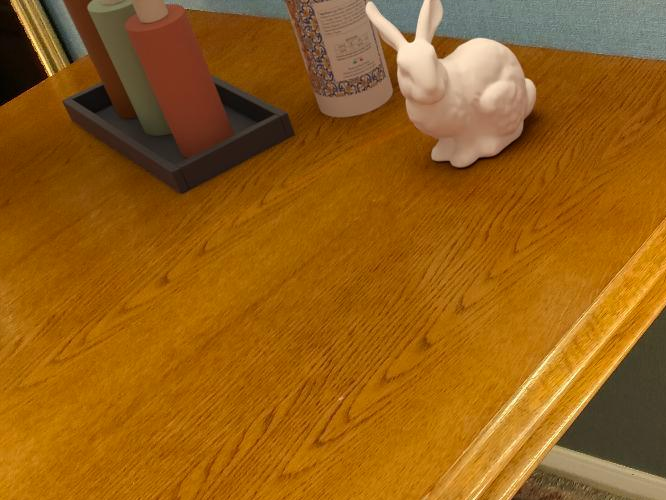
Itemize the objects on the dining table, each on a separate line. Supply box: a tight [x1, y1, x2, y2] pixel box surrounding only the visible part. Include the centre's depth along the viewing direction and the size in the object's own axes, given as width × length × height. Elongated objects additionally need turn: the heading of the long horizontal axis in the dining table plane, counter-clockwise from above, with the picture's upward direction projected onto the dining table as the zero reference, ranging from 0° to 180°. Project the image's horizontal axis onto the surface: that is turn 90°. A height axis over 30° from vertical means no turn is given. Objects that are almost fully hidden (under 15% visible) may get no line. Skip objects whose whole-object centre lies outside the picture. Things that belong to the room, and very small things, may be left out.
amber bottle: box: [62, 0, 138, 119], centre depth 92 cm, size 5×5×13 cm
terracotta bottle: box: [125, 0, 234, 159], centre depth 85 cm, size 5×5×13 cm
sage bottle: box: [87, 0, 172, 136], centre depth 89 cm, size 5×5×13 cm
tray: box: [61, 74, 296, 195], centre depth 92 cm, size 12×24×3 cm, turn 42°
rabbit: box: [365, 0, 537, 168], centre depth 80 cm, size 12×9×12 cm
